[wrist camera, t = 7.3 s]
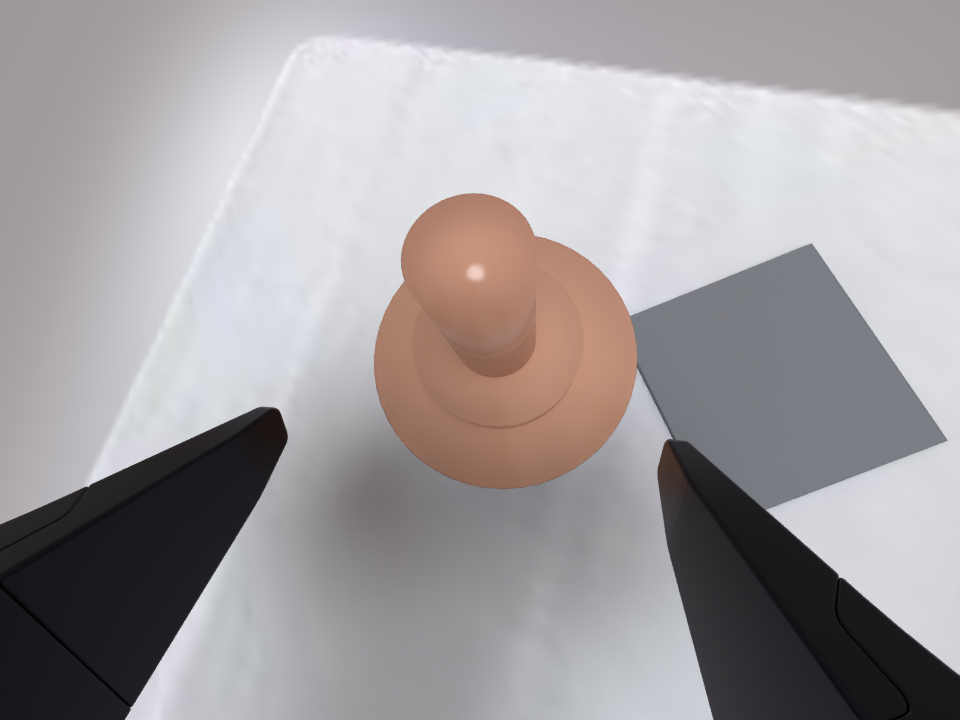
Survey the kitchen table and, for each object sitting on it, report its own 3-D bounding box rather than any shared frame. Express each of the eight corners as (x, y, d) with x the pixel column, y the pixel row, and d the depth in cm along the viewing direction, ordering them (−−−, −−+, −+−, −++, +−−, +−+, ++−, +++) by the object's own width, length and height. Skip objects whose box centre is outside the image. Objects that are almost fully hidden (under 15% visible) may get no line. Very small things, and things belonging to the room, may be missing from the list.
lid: (508, 544, 17) (470, 659, 7) (340, 367, 20) (150, 278, 10) (683, 351, 18) (859, 222, 8) (498, 208, 20) (464, -15, 11)
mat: (717, 525, 19) (720, 526, 19) (615, 323, 22) (616, 322, 22) (941, 440, 19) (947, 440, 19) (808, 246, 22) (811, 243, 22)
